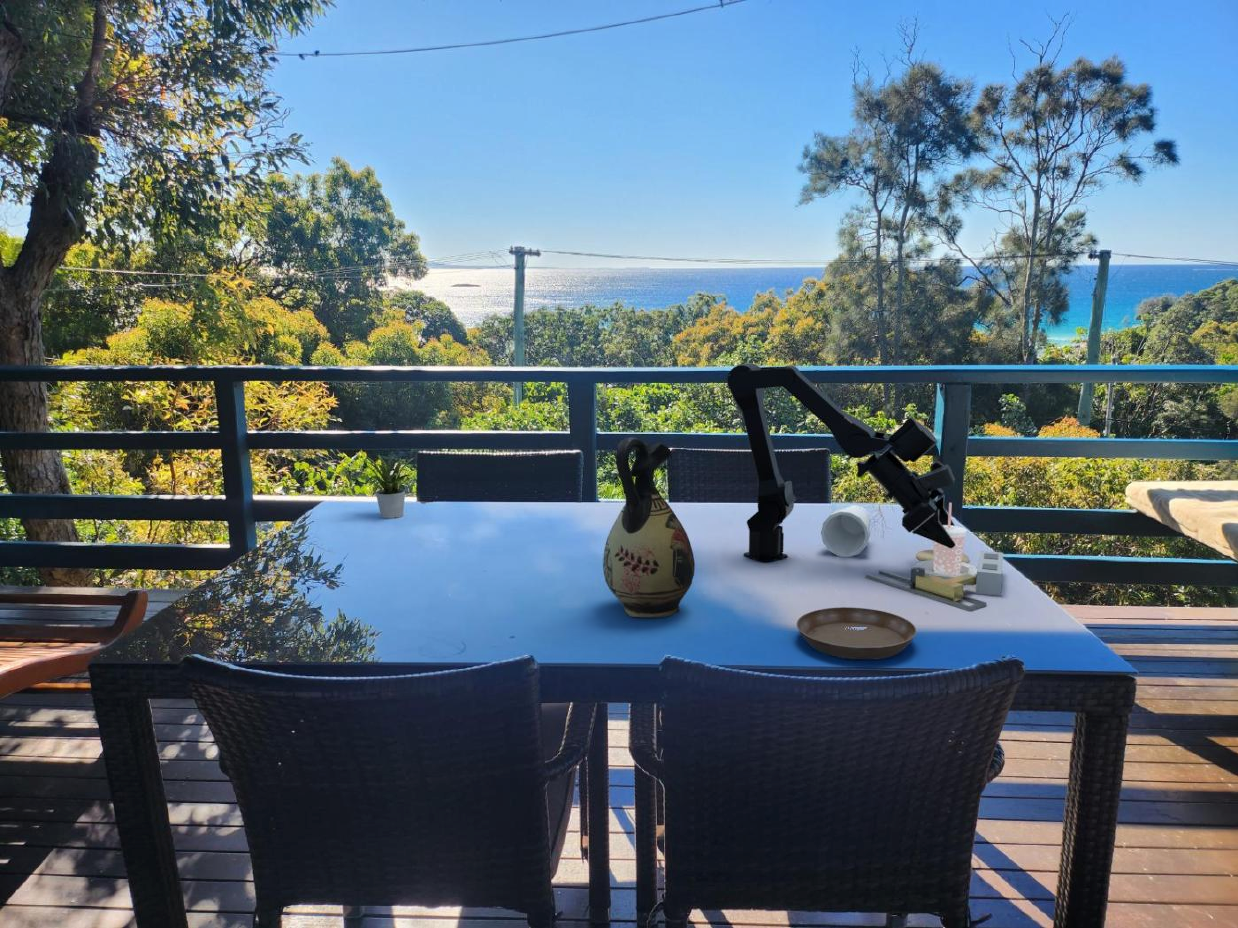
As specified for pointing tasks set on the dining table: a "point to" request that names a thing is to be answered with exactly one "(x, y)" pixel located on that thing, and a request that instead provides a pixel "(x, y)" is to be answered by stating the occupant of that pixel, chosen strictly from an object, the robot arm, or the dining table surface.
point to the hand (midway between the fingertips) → (955, 540)
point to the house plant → (389, 489)
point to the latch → (940, 584)
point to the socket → (976, 572)
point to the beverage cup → (949, 550)
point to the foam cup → (846, 531)
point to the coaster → (929, 555)
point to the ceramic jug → (646, 539)
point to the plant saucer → (856, 632)
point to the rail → (976, 602)
